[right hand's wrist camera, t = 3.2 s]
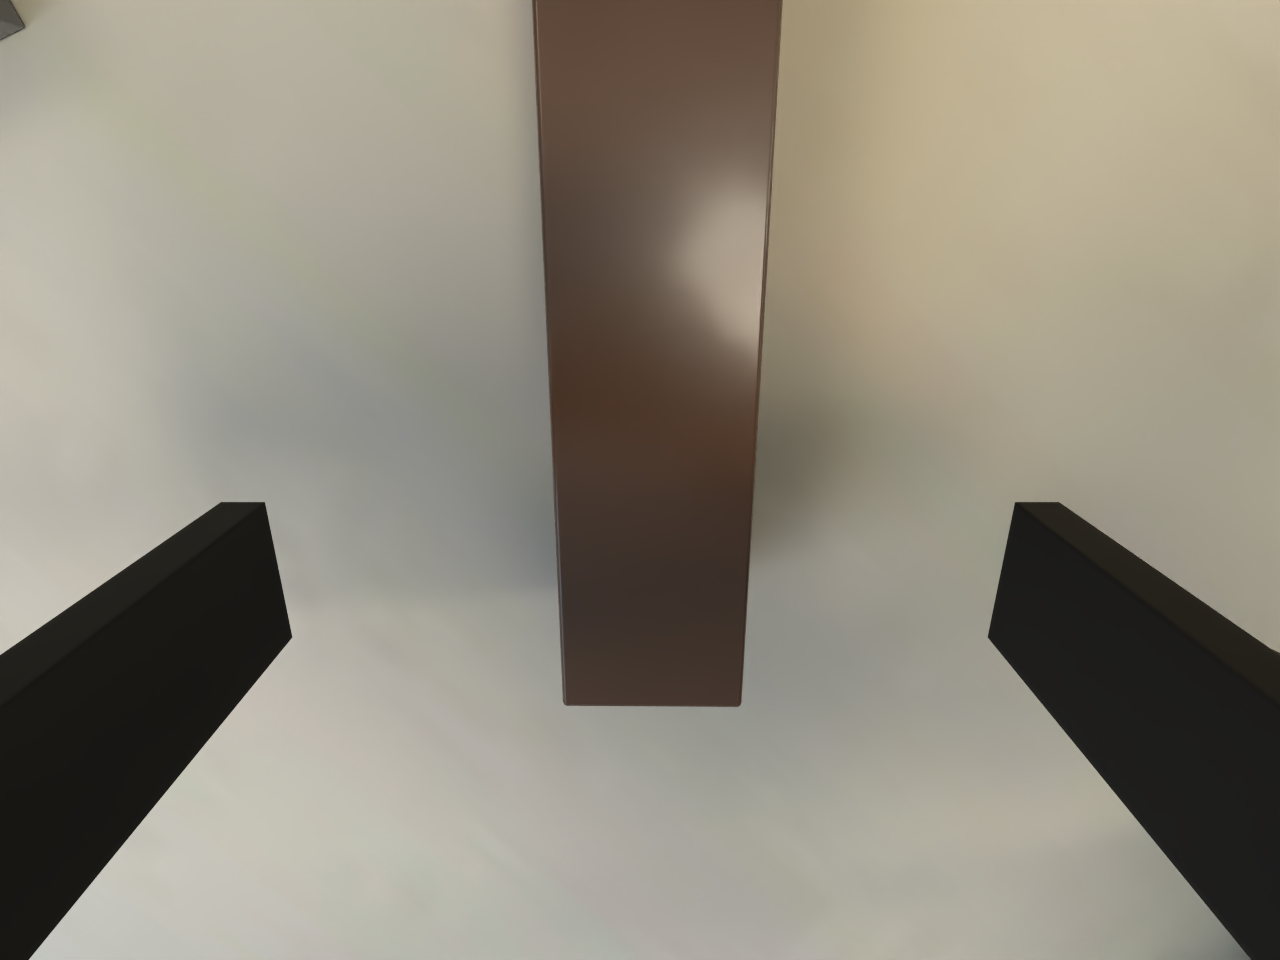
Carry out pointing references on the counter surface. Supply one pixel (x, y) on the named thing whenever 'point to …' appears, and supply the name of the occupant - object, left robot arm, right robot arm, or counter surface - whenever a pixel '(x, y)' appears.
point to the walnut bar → (654, 333)
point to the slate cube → (8, 19)
